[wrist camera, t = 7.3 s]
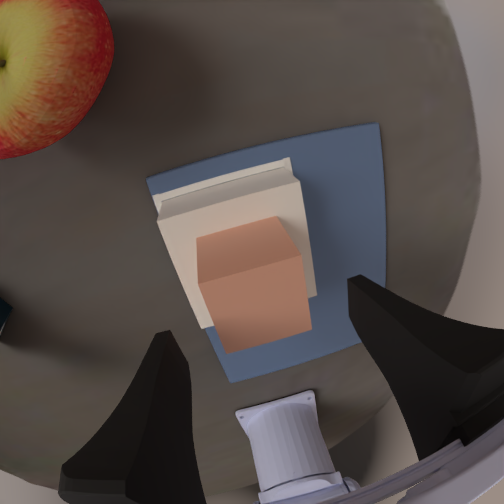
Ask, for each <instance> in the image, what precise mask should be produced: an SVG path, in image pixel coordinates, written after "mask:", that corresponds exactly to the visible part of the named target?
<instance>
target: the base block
mask: <svg viewBox="0 0 504 504" xmlns="http://www.w3.org/2000/svg"><path fill="white" fill-rule="evenodd" d="M273 216H277V218H278V219H279V221H280V222H281V224H282V226H283V227H284V229H285V230H286V232H287V233H288V235H289V236H290V238H291V240H292V241H293V243H294V244H295V246H296V247H297V249H298V250H299V252H300V254H301V256H302V262H303V269H304V275H305V282H306V289H307V296H308V298H311V297H314V296H317V291H316V283H315V276H314V268H313V261H312V254H311V247H310V240H309V234H308V227H307V221H306V215H305V209H304V203H303V197H302V191H301V185H300V181H299V180H298V179H297V178H295V177H294V176H293V175H292V174H291V173H290V172H288V171H287V170H286V169H285V168H284V167H282V168H278V169H274V170H270V171H266V172H262V173H258V174H254V175H251V176H247V177H243V178H239V179H236V180H232V181H229V182H225V183H221V184H218V185H214V186H211V187H207V188H204V189H201V190H197V191H194V192H191V193H187V194H184V195H181V196H177V197H174V198H171V199H168V200H165V201H163V202H162V205H161V209H160V212H159V216H158V219H157V223H158V226H159V229H160V231H161V234H162V236H163V239H164V242H165V244H166V247H167V249H168V252H169V254H170V257H171V259H172V262H173V264H174V266H175V269H176V271H177V274H178V276H179V279H180V281H181V283H182V286H183V288H184V290H185V293H186V295H187V297H188V300H189V302H190V304H191V306H192V309H193V311H194V313H195V315H196V318H197V320H198V322H199V324H200V327H201V329H203V328H207V327H210V326H214V324H213V321H212V319H211V316H210V314H209V311H208V309H207V306H206V304H205V301H204V299H203V296H202V294H201V291H200V288H199V286H198V276H197V248H196V238H198V237H201V236H205V235H208V234H212V233H215V232H219V231H222V230H226V229H229V228H233V227H237V226H240V225H244V224H247V223H251V222H255V221H258V220H262V219H266V218H269V217H273Z"/></svg>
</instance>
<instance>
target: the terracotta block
mask: <svg viewBox="0 0 504 504" xmlns="http://www.w3.org/2000/svg"><path fill="white" fill-rule="evenodd" d="M196 248H197V276H198V286H199V288H200V291H201V294H202V296H203V299H204V301H205V304H206V306H207V309H208V311H209V314H210V316H211V319H212V321H213V324H214V326H215V328H216V331H217V333H218V336H219V338H220V341H221V343H222V345H223V348H224V350H225V352H226V354H229V353H233V352H236V351H240V350H244V349H248V348H251V347H255V346H259V345H262V344H266V343H269V342H273V341H276V340H279V339H283V338H286V337H290V336H293V335H296V334H299V333H302V332H306V331H309V330H312V325H311V318H310V310H309V303H308V296H307V289H306V282H305V275H304V269H303V262H302V256H301V254H300V252H299V250H298V249H297V247H296V246H295V244H294V243H293V241H292V240H291V238H290V236H289V235H288V233H287V232H286V230H285V229H284V227H283V226H282V224H281V222H280V221H279V219H278V218H277V216H273V217H269V218H266V219H262V220H258V221H255V222H251V223H247V224H244V225H240V226H237V227H233V228H229V229H226V230H222V231H219V232H215V233H212V234H208V235H205V236H201V237H198V238H196Z"/></svg>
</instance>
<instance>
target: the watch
mask: <svg viewBox="0 0 504 504" xmlns="http://www.w3.org/2000/svg"><path fill="white" fill-rule="evenodd" d="M12 309H13V308H12V307H11V306H10V305H9V304H7V303H6V302H5V301H4V300H2V299H1V298H0V336H1V334H2V331H3V329H4V327H5V324H6V322H7V320H8V318H9V315H10V313H11V311H12Z"/></svg>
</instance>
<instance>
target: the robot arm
mask: <svg viewBox="0 0 504 504" xmlns="http://www.w3.org/2000/svg"><path fill="white" fill-rule="evenodd" d="M347 289H348V312H349V318H350V320H351V322H352V324H353V326H354V328H355V330H356V332H357V334H358V336H359V338H360V340H361V341H362V343H363V344H364V346H365V347H366V349H367V350H368V352H369V353H370V355H371V356H372V358H373V359H374V361H375V362H376V364H377V366H378V367H379V369H380V370H381V372H382V373H383V375H384V377H385V378H386V380H387V382H388V384H389V386H390V388H391V390H392V392H393V394H394V396H395V398H396V400H397V403H398V405H399V407H400V410H401V412H402V414H403V417H404V419H405V422H406V424H407V427H408V429H409V432H410V434H411V437H412V440H413V443H414V446H415V449H416V453H417V456H418V459H419V462H417V463H415V464H414V465H411V466H409V467H407V468H405V469H404V470H401V471H399V472H397V473H395V474H393V475H391V476H388V477H386V478H384V479H382V480H379V481H377V482H375V483H372V484H370V485H367V486H365V487H363V488H360V486H359V484H358V483H357V482H356V481H355V480H353V479H351V478H349V477H345V478H343V479H342V477H341V474H340V472H335V469H334V467H333V464H332V461H331V459H330V456H329V453H328V450H327V447H326V445H325V442H324V439H323V437H322V434H321V431H320V429H319V425H318V417H317V409H316V402H315V395H314V392H313V391H312V390H308V391H305V392H302V393H299V394H296V395H292V396H289V397H286V398H282V399H279V400H275V401H272V402H268V403H264V404H261V405H257V406H253V407H249V408H245V409H241V410H238V411H236V412H235V413H236V417H237V419H238V420H239V422H240V424H241V426H242V427H243V429H244V431H245V432H246V434H247V436H248V437H249V439H250V443H251V448H252V453H253V457H254V462H255V467H256V471H257V476H258V480H259V485H260V489H261V492H260V493H258V494H259V499H260V501H255V502H254V503H253V504H374V503H377V502H379V501H381V500H384V499H385V498H388V497H390V496H393V495H395V494H397V493H399V492H401V491H403V490H405V489H407V488H409V487H411V486H413V485H415V484H417V483H419V482H420V483H419V484H417V485H415V486H414V487H412V488H410V489H409V490H407V492H406V495H405V496H404V497H403V498H402V499H400V500H399V501H398V502H397V504H470V503H471V502H473V501H474V500H475V499H477V498H478V497H480V496H481V495H482V494H484V493H485V492H486V491H488V490H489V489H490V488H492V487H493V486H494V485H495V484H497V483H498V482H499V481H500V480H502V479H503V478H504V329H494V328H488V327H482V326H477V325H472V324H468V323H464V322H461V321H457V320H453V319H450V318H447V317H444V316H442V315H439V314H437V313H434V312H431V311H429V310H426V309H424V308H422V307H420V306H418V305H416V304H414V303H411V302H409V301H407V300H405V299H404V298H402V297H400V296H398V295H396V294H394V293H392V292H391V291H389V290H387V289H385V288H384V287H382V286H380V285H379V284H377V283H375V282H373V281H372V280H370V279H368V278H367V277H365V276H363V275H361V274H360V275H357V276H354V277H351V278H348V279H347ZM426 478H427V479H426ZM421 481H422V482H421ZM58 494H59V496H60V497H61V498H62V499H63V500H64V501H66V502H67V503H69V504H206V500H205V497H204V493H203V489H202V485H201V480H200V476H199V471H198V466H197V461H196V455H195V449H194V443H193V433H192V391H191V379H190V371H189V365H188V362H187V360H186V358H185V356H184V355H183V353H182V351H181V349H180V347H179V346H178V344H177V342H176V340H175V338H174V336H173V335H172V333H171V331H170V330H168V331H164V332H160V333H156V334H155V336H154V338H153V340H152V342H151V344H150V346H149V348H148V351H147V353H146V355H145V357H144V359H143V361H142V363H141V365H140V367H139V369H138V371H137V373H136V375H135V377H134V379H133V380H132V382H131V384H130V386H129V388H128V389H127V391H126V393H125V395H124V396H123V398H122V399H121V401H120V403H119V404H118V405H117V407H116V408H115V410H114V411H113V413H112V414H111V415H110V417H109V418H108V419H107V420H106V422H105V423H104V424H103V425H102V427H101V428H100V429H99V430H98V432H97V433H96V434H95V435H94V436H93V437H92V438H91V439H90V440H89V441H88V442H87V443H86V444H85V445H84V446H83V447H82V448H81V449H80V450H79V451H78V452H77V453H76V454H75V455H74V456H72V457H71V458H70V459H69V460H68V461H67V462H65V463H64V464H63V465H62V468H61V474H60V482H59V490H58Z"/></svg>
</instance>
